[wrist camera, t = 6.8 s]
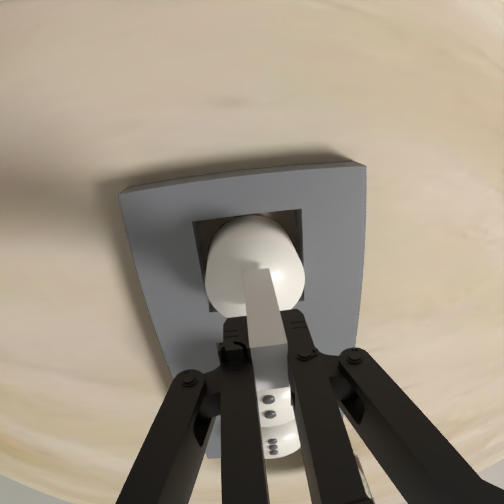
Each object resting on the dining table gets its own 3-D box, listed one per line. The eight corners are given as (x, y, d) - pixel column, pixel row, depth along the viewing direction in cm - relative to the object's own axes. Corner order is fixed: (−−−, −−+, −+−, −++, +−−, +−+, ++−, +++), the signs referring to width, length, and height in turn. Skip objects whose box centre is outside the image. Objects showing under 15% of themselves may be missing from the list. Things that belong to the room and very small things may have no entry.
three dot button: (238, 405, 30) (240, 437, 26) (295, 397, 30) (303, 429, 26) (244, 433, 32) (247, 462, 28) (295, 427, 32) (301, 455, 29)
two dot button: (223, 348, 24) (223, 388, 20) (299, 339, 24) (310, 377, 20) (233, 395, 26) (235, 432, 22) (299, 387, 26) (307, 422, 23)
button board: (127, 187, 20) (117, 194, 18) (354, 161, 21) (366, 166, 19) (208, 445, 34) (208, 458, 32) (333, 429, 34) (337, 441, 32)
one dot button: (202, 221, 21) (196, 245, 17) (290, 210, 21) (304, 232, 17) (215, 296, 24) (213, 330, 20) (294, 286, 24) (306, 319, 20)
